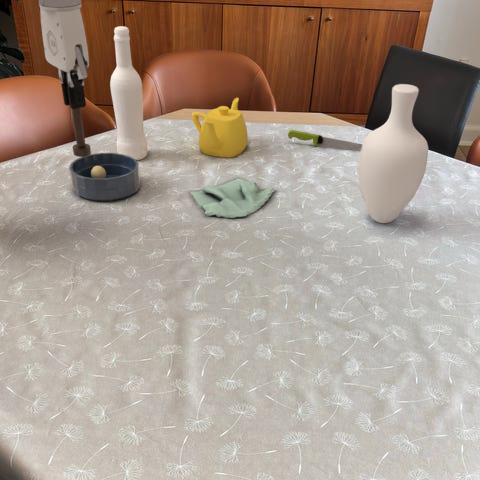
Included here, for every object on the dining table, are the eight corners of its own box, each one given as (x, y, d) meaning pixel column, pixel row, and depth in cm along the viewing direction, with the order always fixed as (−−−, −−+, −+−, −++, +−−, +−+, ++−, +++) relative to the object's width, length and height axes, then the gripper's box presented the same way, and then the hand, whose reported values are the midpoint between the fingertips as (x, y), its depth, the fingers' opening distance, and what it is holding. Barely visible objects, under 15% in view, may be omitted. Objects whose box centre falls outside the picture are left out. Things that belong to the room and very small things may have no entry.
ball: (96, 185, 159) (94, 170, 156) (89, 180, 161) (87, 165, 158) (109, 181, 160) (107, 167, 158) (102, 176, 162) (100, 162, 160)
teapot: (207, 131, 189) (207, 91, 181) (258, 138, 185) (259, 98, 177) (176, 158, 174) (174, 115, 166) (230, 167, 170) (230, 123, 162)
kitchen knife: (365, 155, 181) (368, 144, 179) (365, 156, 180) (367, 145, 178) (287, 140, 183) (289, 129, 181) (286, 141, 182) (288, 130, 180)
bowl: (93, 208, 151) (90, 185, 147) (61, 185, 160) (57, 162, 156) (152, 191, 158) (151, 168, 154) (118, 169, 167) (116, 147, 163)
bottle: (111, 156, 173) (96, 27, 153) (131, 147, 178) (119, 21, 158) (134, 164, 170) (121, 33, 150) (154, 154, 175) (145, 26, 154)
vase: (362, 201, 156) (381, 73, 137) (421, 214, 152) (450, 83, 132) (341, 225, 146) (360, 91, 127) (404, 240, 142) (432, 103, 123)
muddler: (78, 158, 135) (66, 79, 124) (70, 152, 137) (58, 74, 126) (94, 154, 136) (83, 75, 126) (86, 149, 138) (75, 71, 128)
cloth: (201, 221, 147) (200, 211, 145) (186, 182, 162) (186, 172, 161) (288, 215, 150) (289, 204, 148) (266, 177, 166) (266, 167, 164)
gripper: (21, -8, 120) (40, 98, 133) (60, 7, 111) (76, 120, 124) (58, -12, 124) (74, 92, 136) (99, 2, 115) (111, 113, 127)
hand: (75, 105), depth 130 cm, fingers closed on muddler
